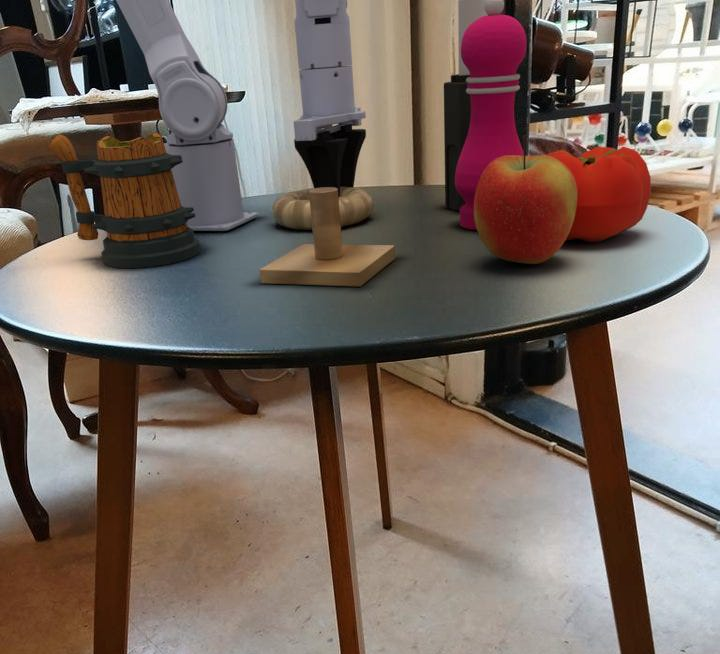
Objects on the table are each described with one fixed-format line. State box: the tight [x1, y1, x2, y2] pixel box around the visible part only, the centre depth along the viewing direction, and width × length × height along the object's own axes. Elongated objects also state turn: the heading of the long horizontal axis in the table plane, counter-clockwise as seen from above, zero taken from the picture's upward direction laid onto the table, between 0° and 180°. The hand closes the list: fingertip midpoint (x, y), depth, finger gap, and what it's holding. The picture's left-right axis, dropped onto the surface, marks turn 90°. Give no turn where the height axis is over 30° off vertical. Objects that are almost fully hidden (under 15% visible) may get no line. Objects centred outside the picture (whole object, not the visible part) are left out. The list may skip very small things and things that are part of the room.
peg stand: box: [259, 187, 396, 288], centre depth 65 cm, size 9×9×7 cm
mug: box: [48, 132, 201, 269], centre depth 74 cm, size 13×10×12 cm
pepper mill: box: [455, 0, 528, 231], centre depth 74 cm, size 7×7×20 cm
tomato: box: [546, 145, 652, 243], centre depth 70 cm, size 11×11×8 cm
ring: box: [271, 187, 374, 231], centre depth 85 cm, size 11×11×3 cm
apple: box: [474, 134, 577, 265], centre depth 62 cm, size 8×8×10 cm
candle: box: [443, 0, 487, 213], centre depth 81 cm, size 5×5×25 cm
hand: (336, 201), depth 88 cm, fingers open, 4 cm apart
